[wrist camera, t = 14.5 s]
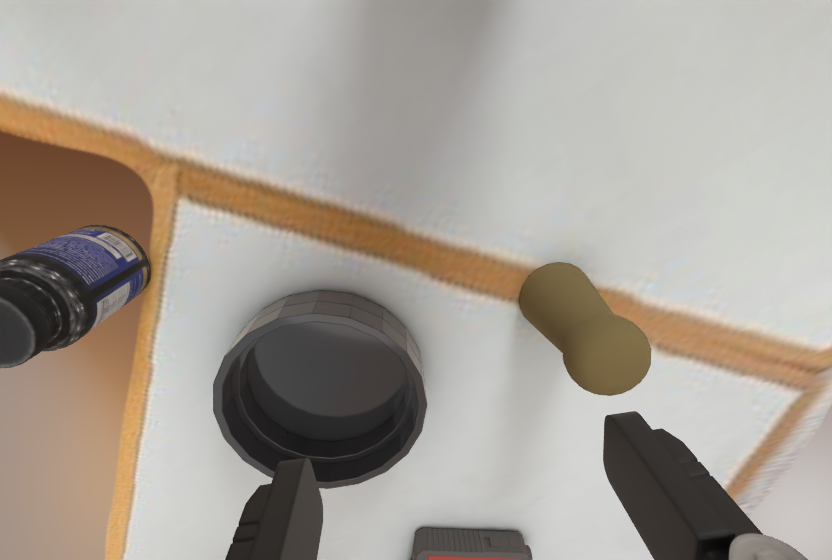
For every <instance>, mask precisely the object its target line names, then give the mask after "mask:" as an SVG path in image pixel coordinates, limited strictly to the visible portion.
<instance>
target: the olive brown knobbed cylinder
mask: <svg viewBox="0 0 832 560" xmlns="http://www.w3.org/2000/svg"><path fill="white" fill-rule="evenodd" d="M519 303H520V309H521V311H522V313H523V315H524V317H525V318H526V319H527V320H528V321H529V322H530V323H531V324H532V325H533V326H534V327H535V328H537V329H538V330H539V331H540V332H541V333H542V334H543V335H544V336H545V337H546V338H547V339H548V340H549V341H550V342H551V343H552V344H554V345H555V346H556V347H557V348H558V349H559V350H560V351H561V352H562V353H563V360H564V364H565V367H566V369H567V371H568V373H569V375H570V376H571V378H572V379H573V380H574V381H575V382H576V383H577V384H578V385H579V386H580V387H582V388H583V389H585V390H587V391H589V392H592V393H594V394H599V395H608V396H611V395H617V394H622V393H624V392H626V391H628V390H631V389H632V388H633V387H635V386H636V385H637V384H639V383H640V382H641V381H642V379H643V378H644V377H645V376H646V374H647V372H648V370H649V367H650V365H651V347H650V345H649V342H648V339H647V337H646V336H645V334H644V333H643V332H642V331H641V330H640V328H639V327H638V326H637V325H635V324H634V323H633V322H631V321H629V320H627V319H625V318H623V317H621V316H618V315H614V314H613V312H612V311H611V310H610V308H609V307H608V305H607V304H606V303H605V301H604V300H603V298H602V297H601V296H600V294H599V293H598V291H597V290H596V289H595V287H594V286H593V284H592V283H591V282H590V280H589V279H588V277H587V276H586V275H585V274H584V273H583V272H582V271H581V270H580V269H579V268H577V267H575V266H573V265H571V264H568V263H560V262H558V263H552V264H547V265H545V266H543V267H541V268H539V269H537V270H536V271H534V272H533V273H532V274H531V275H530V276H529V277H528V278H527V279H526V281H525V283H524V284H523V286H522V288H521V292H520V296H519Z"/></svg>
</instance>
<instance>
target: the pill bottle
mask: <svg viewBox="0 0 832 560" xmlns="http://www.w3.org/2000/svg"><path fill="white" fill-rule="evenodd" d="M149 279H150V266H149V262H148V259H147V256H146V254H145V252H144V251H143V249H142V248H141V246H140V245H139V244H138V243H137V242H136V241H135V240H134V239H133V238H131V237H130V236H129V235H128V234H126V233H124V232H123V231H121V230H119V229H116V228H112V227H108V226H102V225H91V226H86V227H83V228H80V229H78V230H75V231H73V232H70V233H68V234H65V235H63V236H60V237H58V238H55V239H52V240H50V241H47V242H45V243H42V244H40V245H37V246H35V247H32V248H30V249H27V250H25V251H22V252H20V253H17V254H14V255H12V256H9V257H7V258H4V259H2V260H0V368H10V367H14V366H17V365H20V364H23V363H24V362H26V361H27V360H29V359H31V358H32V357H33V356H35V355H37V354H38V353H40V352H41V351H53V350H57V349H60V348H64V347H67V346H69V345H71V344H73V343H74V342H76V341H77V340H79V339H80V338H81V337H83V336H84V335H85V334H86V333H88V332H89V331H90V330H92V329H93V328H95V327H96V326H97V325H98V324H100V323H101V322H102V321H104V320H105V319H107V318H108V317H109V316H111V315H112V314H113V313H115V312H116V311H117V310H119V309H120V308H121V307H123V306H124V305H125V304H127V303H128V302H129V301H131V300H132V299H133V298H134V297H136V296H137V295H139V294H140V293H141V292H142V291H143V290H144V288H145V287H146V285H147V284H148V282H149Z"/></svg>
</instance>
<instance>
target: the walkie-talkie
mask: <svg viewBox="0 0 832 560" xmlns="http://www.w3.org/2000/svg"><path fill="white" fill-rule="evenodd" d="M411 560H532V553H531V550H530V547H529V546H528V545H525V544H524V540H523V537H522V534H520V533H519V532H504V531H480V530H478V531H477V530H454V529H429V528H422V529H420V530H419V531H417V532H416V534H415V540H414V546H413V552H412V558H411Z"/></svg>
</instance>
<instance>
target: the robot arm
mask: <svg viewBox="0 0 832 560" xmlns="http://www.w3.org/2000/svg"><path fill="white" fill-rule="evenodd" d="M603 462H604V467H605V471H606V475H607V477H608V480H609V482H610V484H611V486H612V487H613V489H614V491H615V493H616V494H617V496H618V498H619V500H620V501H621V503H622V505H623V506H624V508H625V510H626V512H627V513H628V515H629V517H630V519H631V520H632V522H633V524H634V525H635V527H636V529H637V531H638V532H639V534H640V536H641V538H642V539H643V541H644V543H645V544H646V546H647V548H648V550H649V551H650V553H651V555H652V557H653V558H654V560H808V559H807V558H805V557H804V556H803V555H802V554H801V553H800V552H798V551H797V550H796V549H794V548H793V547H791V546H790V545H788V544H786V543H784V542H782V541H780V540H778V539H775V538H773V537H769V536H766V535H763V534H762V533H761V532H760V530H758V528H757V527H756V526H755V525H754V524H753V522H752V521H751V520H750V519H749V518H748V517H747V516H746V514H745V513H744V512H743V511H742V510H741V509H740V507H739V506H738V505H737V504H736V503H735V502H734V501H733V499H732V498H731V497H730V496H729V495H728V494H727V493H726V491H725V490H724V489H723V488H722V487H721V486H720V484H719V483H718V482H717V481H716V480H715V479H714V478H713V476H710V475H709V472H708V471H707V469H706V468H705V467H704V466H703V465H702V464H701V463H700V462H698V461H697V458H696V457H695V456H694V454H693V453H692V452H691V451H690V450H689V449H688V448H687V446H686V445H685V444H684V443H683V442H682V441H681V440H679V439H677V438H676V437H674V436H673V435H671V434H670V433H668V432H667V431H665V430H664V429H656V430H652V429H651V428H650V426H649V425H648V424H647V423H646V421H645V420H644V419H643V418H642V416H641V415H640V414H639V413H638V412H635V411H634V412H627V413H620V414H613V415H607V416H606V417H605V423H604V450H603ZM322 524H323V504H322V498H321V495H320V491H319V488H318V485H317V481H316V478H315V474H314V471H313V468H312V464H311V461H310V459H309V458H301V459H294V460H287V461H281V462H279V463H278V465H277V468H276V471H275V474H274V477H273V480H272V483H271V484H267V485H260V486H259V487H258V489H257V490H256V491H255V493H254V494H253V495H252V496H251V498H250V499H249V500H248V502H247V503H246V505H245V507H244V510H243V513H242V516H241V518H240V521H239V527H237V529H236V532H235V535H234V537H233V543H232V544H231V545H230V548H229V551H228V554H227V556H226V559H225V560H317V554H318V548H319V542H320V536H321V530H322Z"/></svg>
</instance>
